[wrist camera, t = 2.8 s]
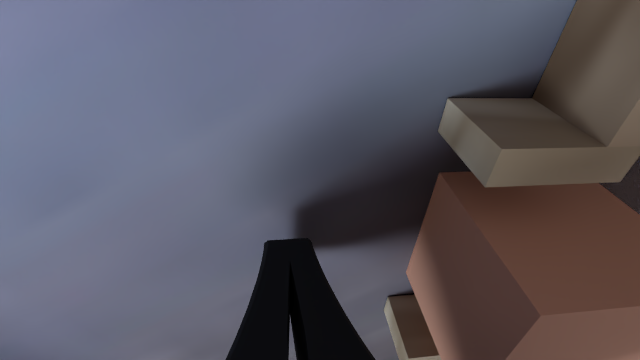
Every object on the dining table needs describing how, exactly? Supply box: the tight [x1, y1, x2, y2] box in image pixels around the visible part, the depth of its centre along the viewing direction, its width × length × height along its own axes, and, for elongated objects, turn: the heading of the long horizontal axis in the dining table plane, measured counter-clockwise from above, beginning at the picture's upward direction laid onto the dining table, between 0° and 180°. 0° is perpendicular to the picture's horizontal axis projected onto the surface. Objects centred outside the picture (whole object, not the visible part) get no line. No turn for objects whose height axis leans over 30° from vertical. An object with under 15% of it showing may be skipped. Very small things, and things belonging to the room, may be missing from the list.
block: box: [406, 171, 640, 360], centre depth 10 cm, size 5×5×5 cm
